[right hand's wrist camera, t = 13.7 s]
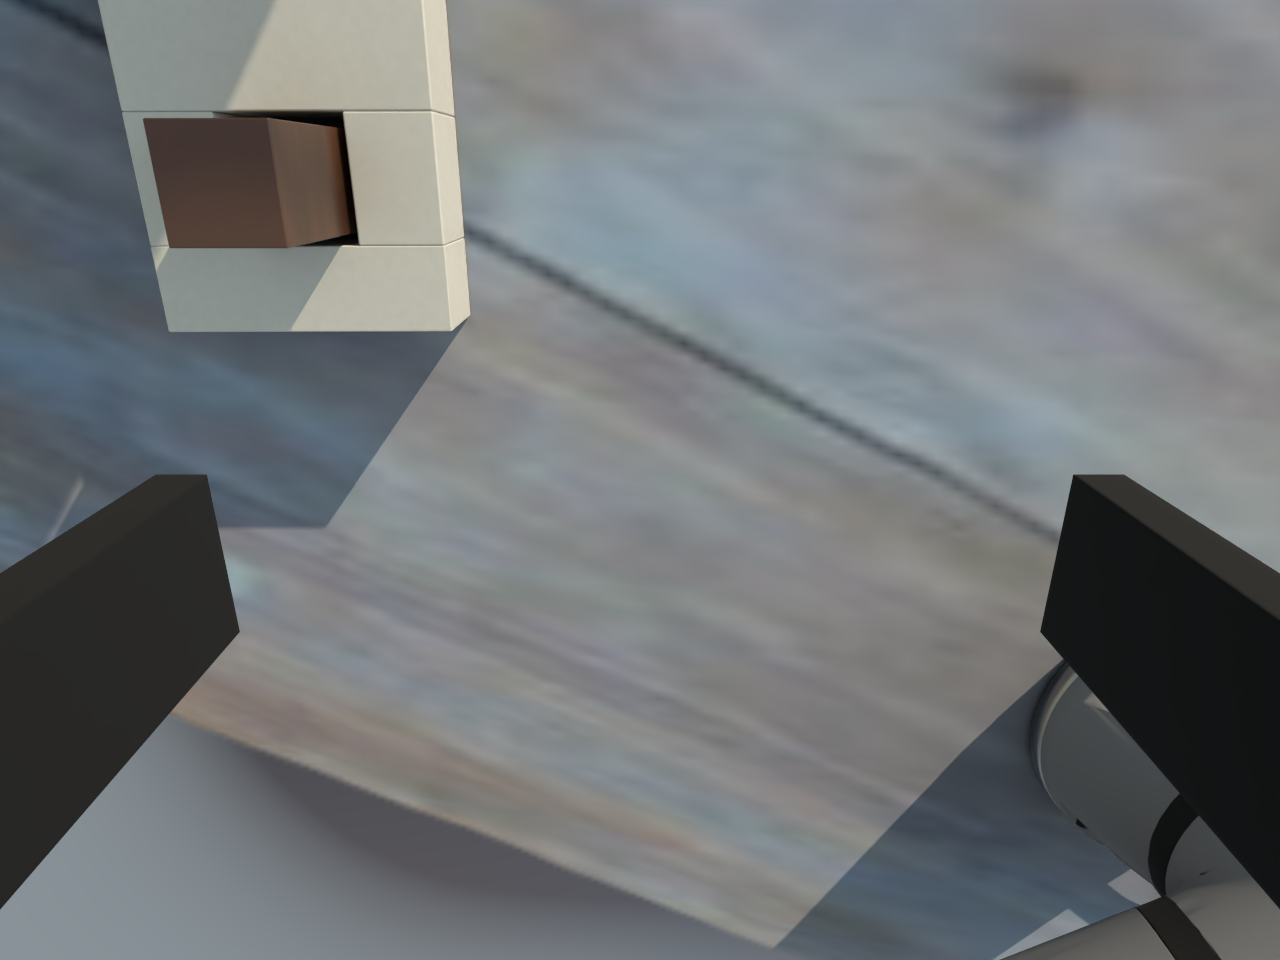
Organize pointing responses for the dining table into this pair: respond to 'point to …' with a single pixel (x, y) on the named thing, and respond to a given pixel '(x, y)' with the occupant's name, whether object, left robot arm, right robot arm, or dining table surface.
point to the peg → (250, 182)
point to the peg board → (308, 87)
